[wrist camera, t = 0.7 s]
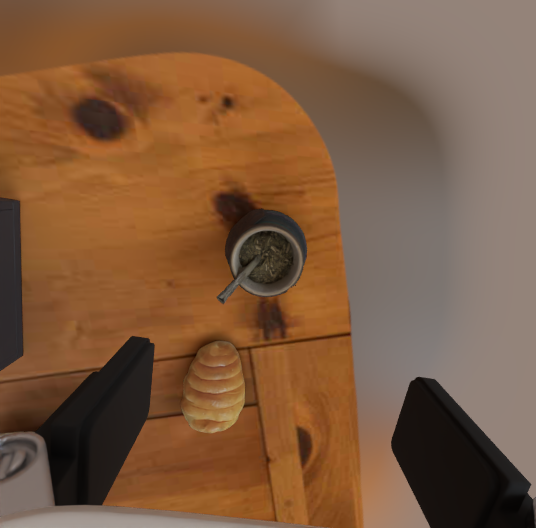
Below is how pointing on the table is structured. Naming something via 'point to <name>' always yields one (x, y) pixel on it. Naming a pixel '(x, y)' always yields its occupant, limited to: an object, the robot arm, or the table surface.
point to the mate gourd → (264, 254)
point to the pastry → (213, 388)
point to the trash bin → (10, 283)
